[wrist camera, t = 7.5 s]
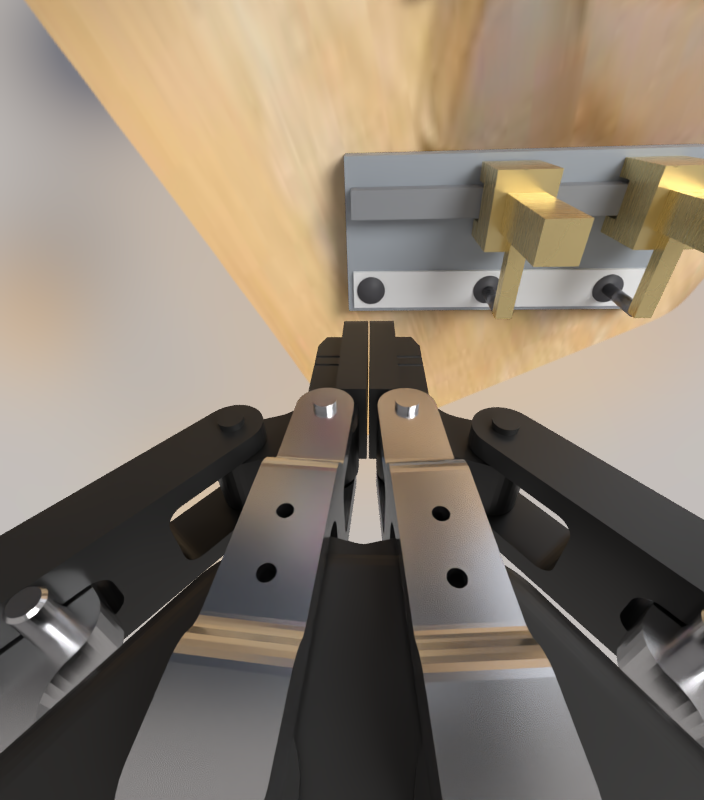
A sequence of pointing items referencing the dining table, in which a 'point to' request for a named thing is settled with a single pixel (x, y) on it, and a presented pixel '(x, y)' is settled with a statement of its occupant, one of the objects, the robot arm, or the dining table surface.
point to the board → (453, 221)
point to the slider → (526, 225)
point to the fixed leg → (657, 223)
